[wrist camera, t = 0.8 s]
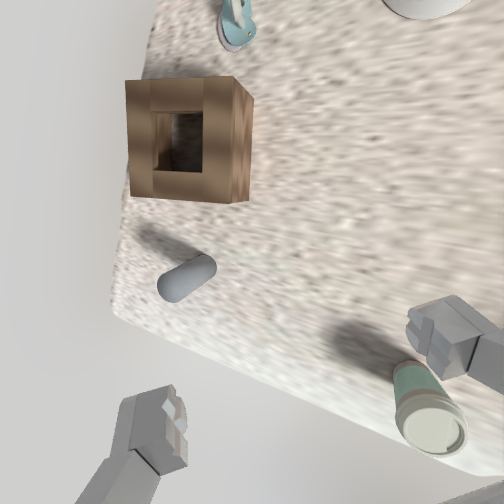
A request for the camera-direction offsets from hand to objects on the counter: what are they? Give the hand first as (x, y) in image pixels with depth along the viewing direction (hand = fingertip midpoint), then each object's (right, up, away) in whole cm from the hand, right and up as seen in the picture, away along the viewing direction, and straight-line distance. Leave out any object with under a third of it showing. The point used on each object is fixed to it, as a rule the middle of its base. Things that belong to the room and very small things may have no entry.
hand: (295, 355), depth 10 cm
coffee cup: (+25, -17, +39) cm, 50 cm away
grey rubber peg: (-10, +1, +45) cm, 46 cm away
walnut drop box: (-9, +21, +40) cm, 46 cm away
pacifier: (-4, +38, +35) cm, 52 cm away
